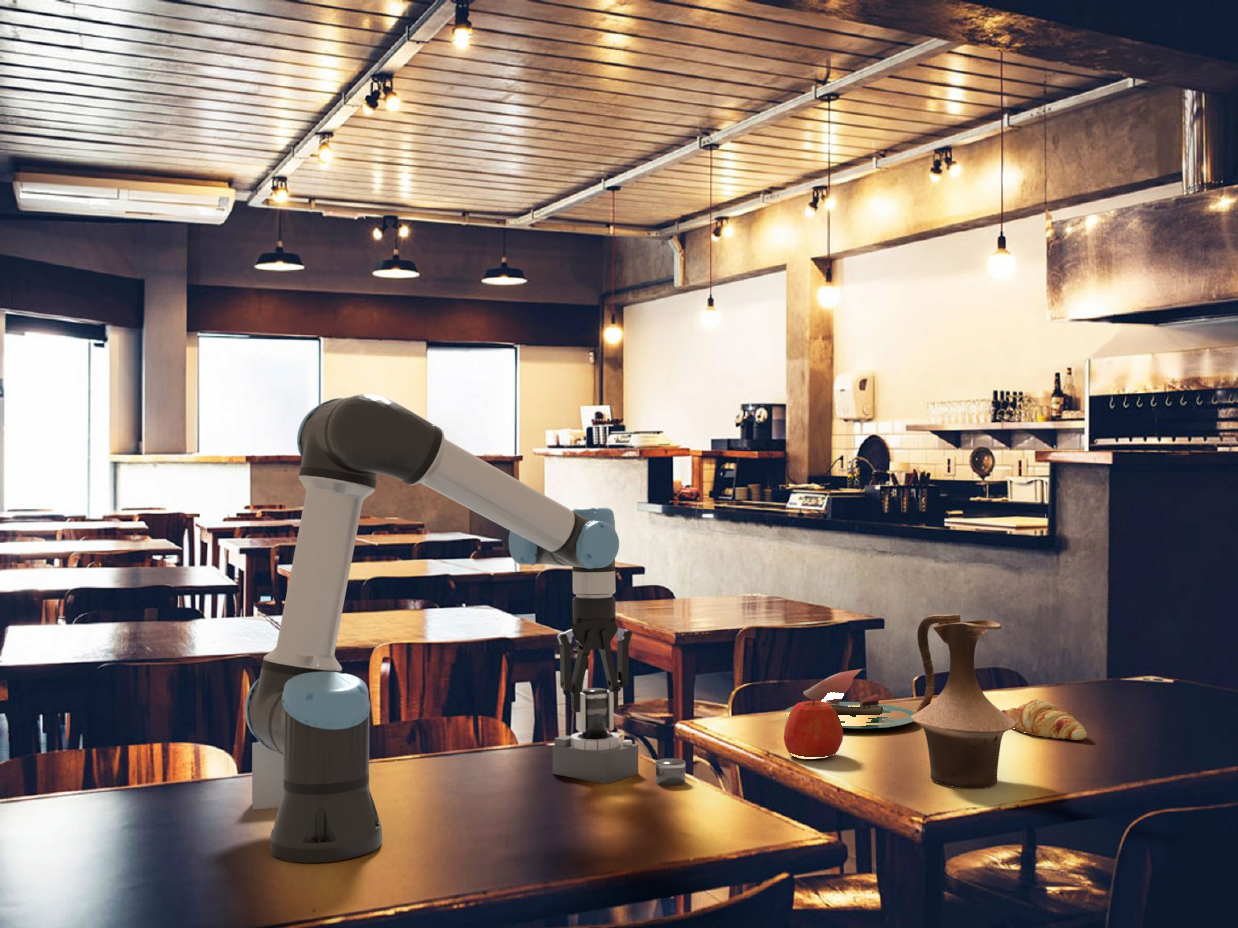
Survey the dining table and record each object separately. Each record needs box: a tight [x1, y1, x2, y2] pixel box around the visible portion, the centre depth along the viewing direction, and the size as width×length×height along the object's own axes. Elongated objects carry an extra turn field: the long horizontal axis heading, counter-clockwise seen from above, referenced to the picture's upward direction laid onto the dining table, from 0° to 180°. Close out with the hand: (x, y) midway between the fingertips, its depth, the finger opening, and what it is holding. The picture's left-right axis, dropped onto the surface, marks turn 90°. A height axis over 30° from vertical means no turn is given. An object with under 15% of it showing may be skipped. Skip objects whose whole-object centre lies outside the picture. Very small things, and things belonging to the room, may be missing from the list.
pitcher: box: [911, 613, 1016, 790], centre depth 197 cm, size 18×17×28 cm
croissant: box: [1001, 698, 1088, 741], centre depth 235 cm, size 21×10×8 cm, turn 29°
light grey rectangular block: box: [251, 741, 284, 810], centre depth 186 cm, size 4×7×10 cm, turn 107°
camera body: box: [552, 729, 640, 785], centre depth 204 cm, size 9×12×7 cm
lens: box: [581, 687, 608, 740], centre depth 204 cm, size 5×5×9 cm
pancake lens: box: [654, 758, 686, 787], centre depth 198 cm, size 5×5×4 cm
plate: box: [784, 668, 915, 729], centre depth 249 cm, size 28×28×11 cm
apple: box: [783, 699, 844, 757], centre depth 216 cm, size 11×11×11 cm
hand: (595, 728), depth 204 cm, fingers closed on lens, 4 cm apart
